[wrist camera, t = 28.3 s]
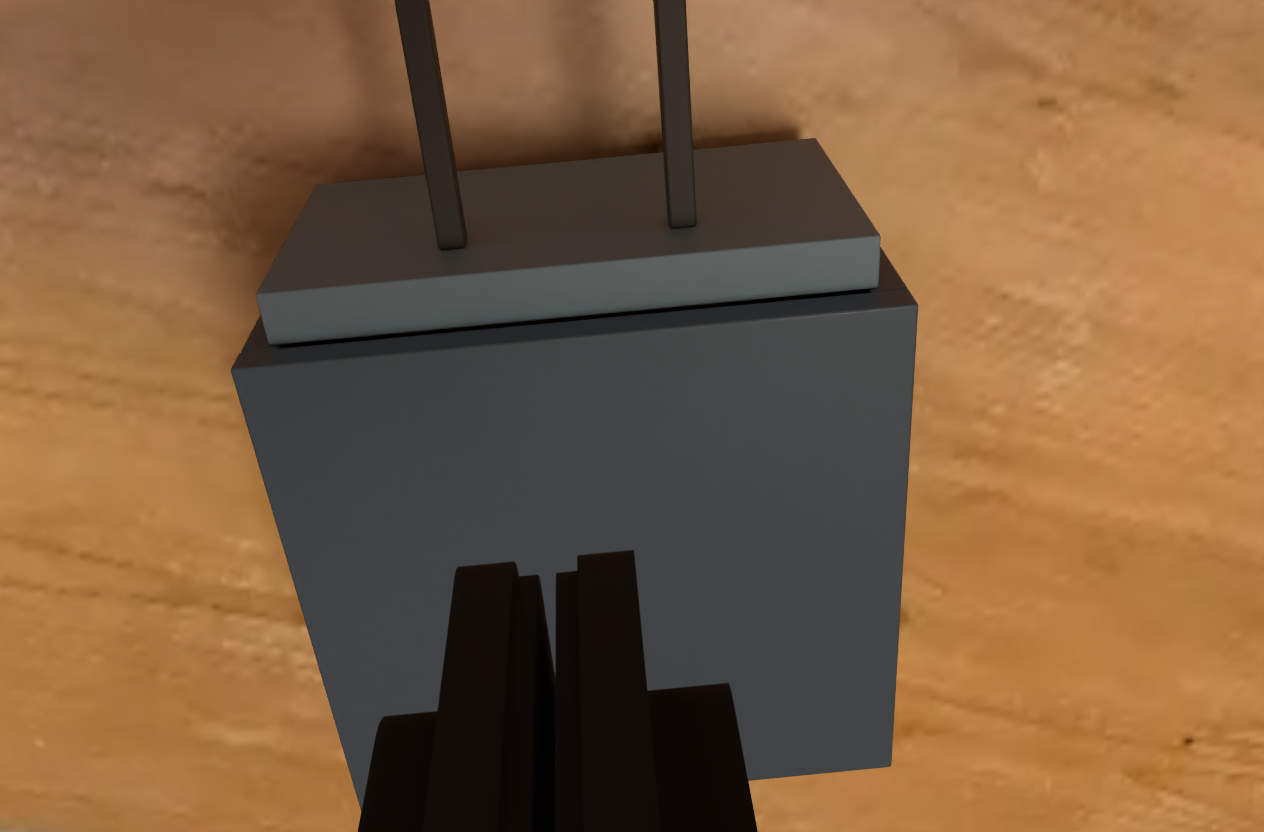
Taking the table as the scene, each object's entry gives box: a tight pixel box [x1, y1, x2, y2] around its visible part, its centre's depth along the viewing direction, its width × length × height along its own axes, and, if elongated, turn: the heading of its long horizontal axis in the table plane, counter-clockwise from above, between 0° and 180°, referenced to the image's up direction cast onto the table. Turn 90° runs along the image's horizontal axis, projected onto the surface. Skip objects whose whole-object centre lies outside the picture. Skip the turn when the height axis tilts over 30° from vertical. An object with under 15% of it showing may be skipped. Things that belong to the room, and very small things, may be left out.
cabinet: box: [231, 247, 918, 812], centre depth 30 cm, size 14×14×9 cm
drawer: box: [256, 0, 881, 345], centre depth 27 cm, size 19×13×7 cm
